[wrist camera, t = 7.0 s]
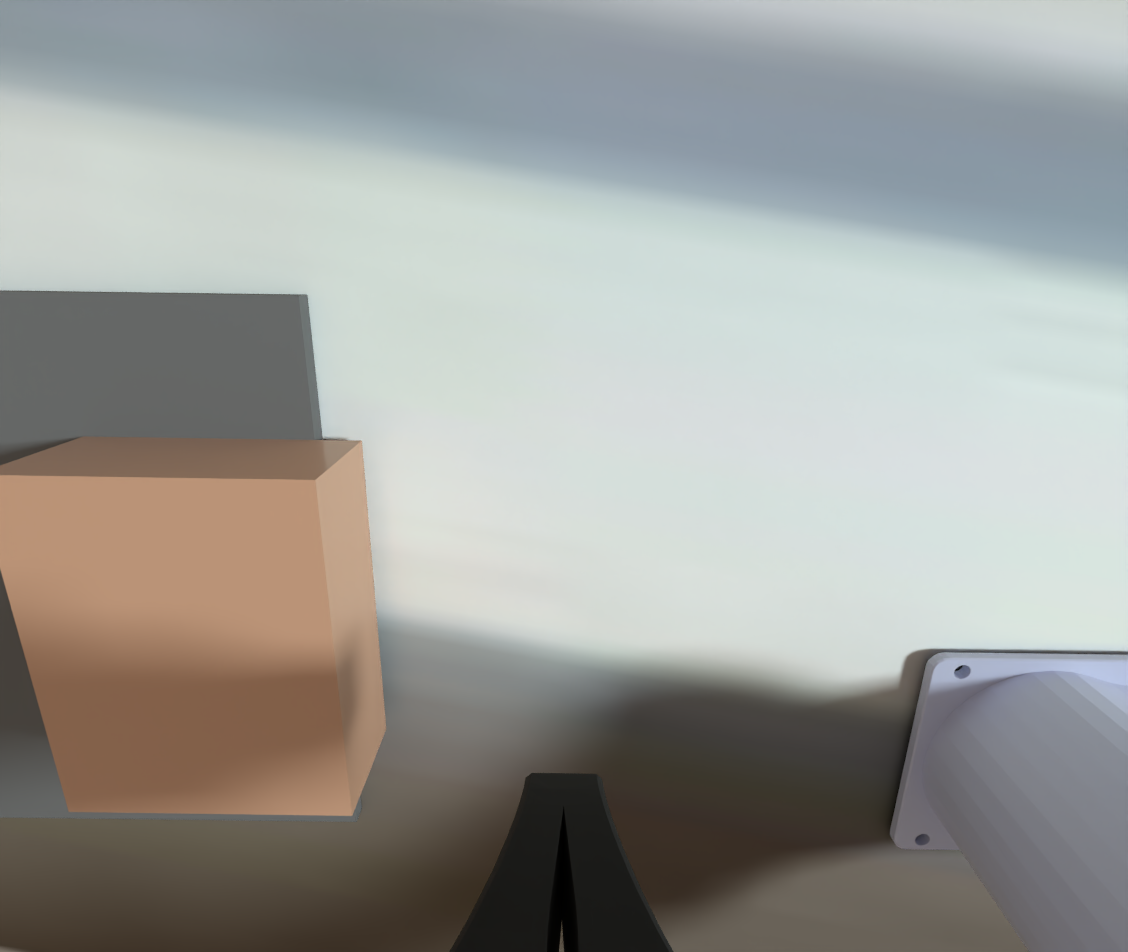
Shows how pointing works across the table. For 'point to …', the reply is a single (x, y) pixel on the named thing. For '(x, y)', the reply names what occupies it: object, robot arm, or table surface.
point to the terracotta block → (198, 621)
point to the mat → (136, 409)
